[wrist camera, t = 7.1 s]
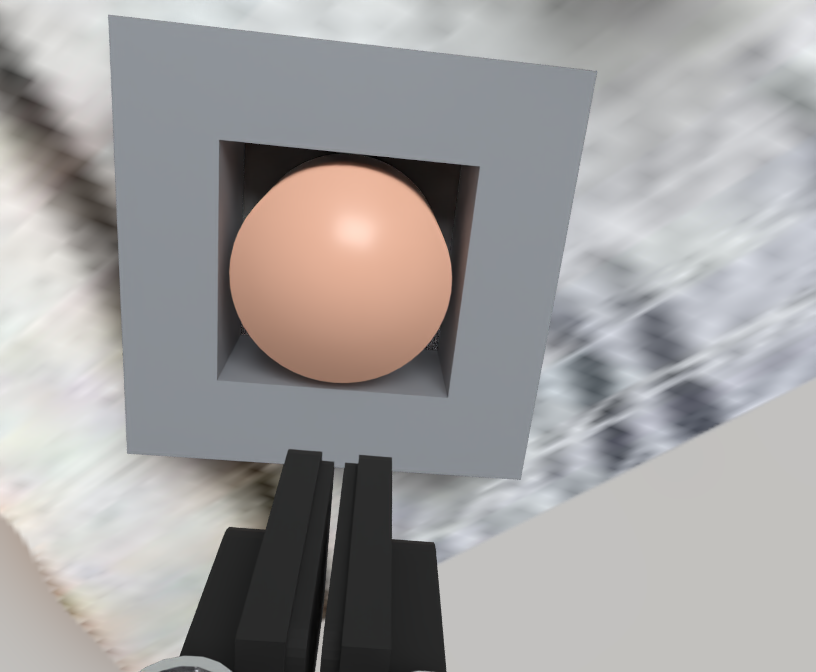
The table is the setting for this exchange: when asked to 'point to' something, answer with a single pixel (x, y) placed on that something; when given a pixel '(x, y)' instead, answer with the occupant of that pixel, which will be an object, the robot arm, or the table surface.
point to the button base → (350, 133)
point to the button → (341, 270)
